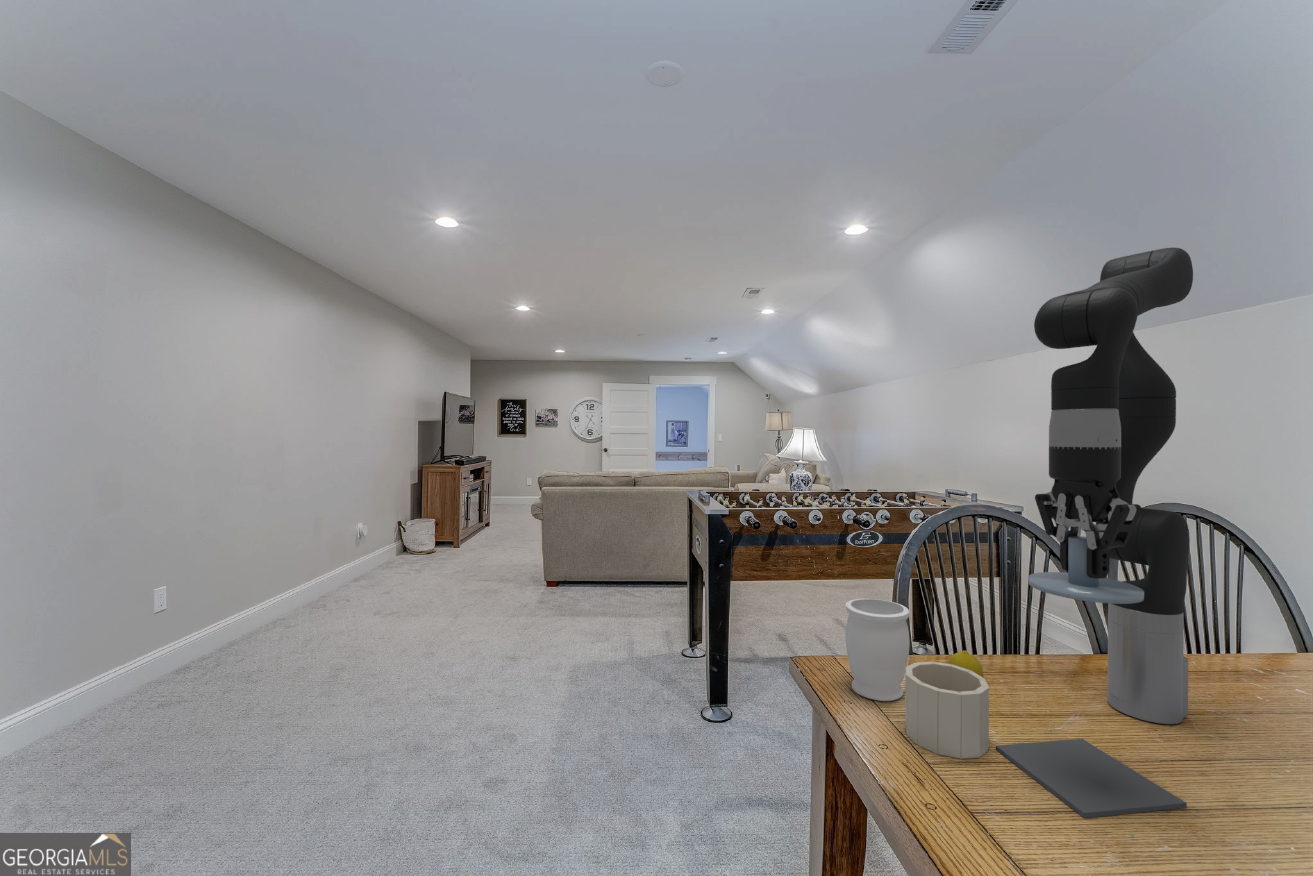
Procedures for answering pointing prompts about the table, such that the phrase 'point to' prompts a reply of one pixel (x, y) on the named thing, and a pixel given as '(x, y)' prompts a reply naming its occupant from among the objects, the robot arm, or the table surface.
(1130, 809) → the mat
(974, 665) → the lemon
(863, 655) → the jar
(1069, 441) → the robot arm
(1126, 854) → the table surface
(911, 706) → the crock
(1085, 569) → the lid
